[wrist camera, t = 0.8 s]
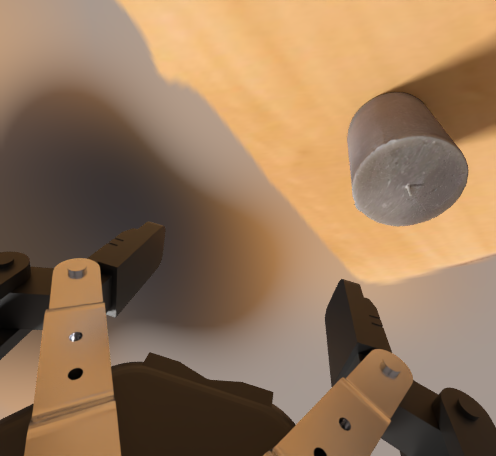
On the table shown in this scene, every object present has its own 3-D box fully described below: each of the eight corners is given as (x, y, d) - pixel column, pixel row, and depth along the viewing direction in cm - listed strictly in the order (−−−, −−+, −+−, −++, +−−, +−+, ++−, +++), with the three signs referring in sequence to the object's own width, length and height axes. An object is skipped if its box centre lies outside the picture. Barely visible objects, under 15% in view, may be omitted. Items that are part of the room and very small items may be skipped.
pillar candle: (444, 134, 35) (498, 200, 24) (372, 179, 41) (388, 249, 30) (401, 71, 32) (439, 114, 21) (330, 129, 38) (330, 187, 27)
